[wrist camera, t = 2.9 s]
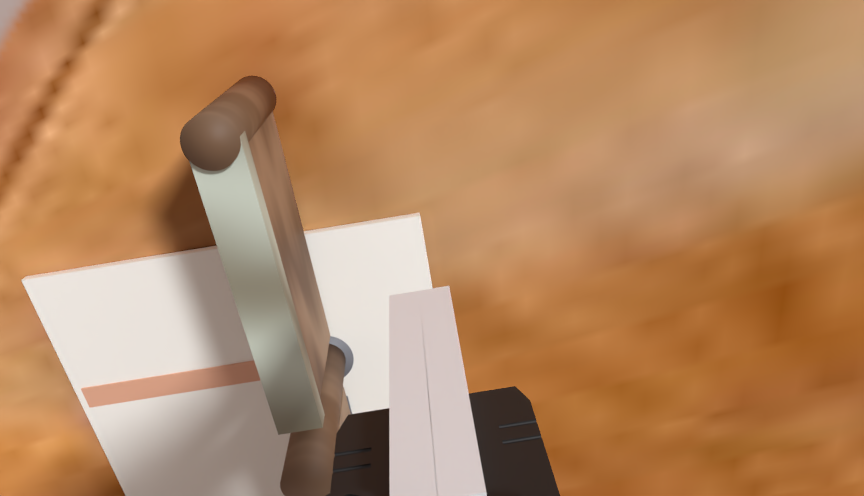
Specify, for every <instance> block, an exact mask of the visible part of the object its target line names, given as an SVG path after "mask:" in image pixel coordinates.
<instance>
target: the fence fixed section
mask: <svg viewBox="0 0 864 496" xmlns="http://www.w3.org/2000/svg"><path fill="white" fill-rule="evenodd" d="M345 363H346V358H345V355H344V353H343V351H342V350H341V349H340V348H338V347H337V346H335V345H332V344H329V347H328V353H327V360H326V366H325V372H324V378H323V385H322V391H321V397H320V400H321V403H322V407H323V410H324V414H325V416H324V423H323V428H318V429H312V430H306V431H299V432H293V433H290V438H289V443H288V448H287V452H286V457H285V462H284V467H283V471H282V476H281V481H280V488H281V491H282V493H283V494H284V496H326V495H327V494H329V493H330V489H331V480H332V474H333V461H334V457H335V454H334V452H335V443H336V434H337V432H338V430H339V429H340V427H341V425H342V424H343V422H344V421H345V419H346V417H347V416H348V415H349V414H351V413H350V409H349V405H348V401H347V398H346V394H345V390H344V387H343V381H344V372H345Z"/></svg>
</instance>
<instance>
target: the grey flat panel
mask: <svg viewBox="0 0 864 496" xmlns="http://www.w3.org/2000/svg"><path fill="white" fill-rule="evenodd" d="M275 105H276V94H275V91H274V89H273V87H272V86H271V85H270V84H269V83H268V82H267V81H266V80H265V79H263V78H261V77H257V76H247V77H244V78H242V79H240V80H239V81H238V82H237V83H235V84H234V85H233V86H232V87H230V88H229V89H228V90H227V91H225V92H224V93H223V94H222V95H220V96H219V97H218V98H217V99H215V100H214V101H213V102H212V103H211V104H209V105H208V106H207V107H206V108H204V109H203V110H202V111H201V112H199V113H198V114H197V115H196V116H194V117H193V118H192V119H191V120H189V121H188V122H187V123H186V124H185V126H184V127H183V129H182V131H181V135H180V144H181V148H182V151H183V153H184V155H185V156H186V158H187V159H188V160H189V162H190V165H191V168H192V171H193V174H194V177H195V180H196V183H197V186H198V189H199V192H200V195H201V198H202V202H203V205H204V208H205V211H206V214H207V217H208V220H209V223H210V226H211V229H212V232H213V235H214V238H215V241H216V245H217V248H218V251H219V254H220V257H221V260H222V263H223V266H224V269H225V272H226V275H227V278H228V281H229V285H230V288H231V291H232V294H233V297H234V300H235V303H236V306H237V309H238V312H239V315H240V318H241V321H242V324H243V328H244V331H245V334H246V337H247V340H248V343H249V346H250V349H251V352H252V355H253V358H254V361H255V364H256V367H257V371H258V374H259V377H260V380H261V383H262V386H263V389H264V392H265V395H266V398H267V401H268V404H269V407H270V410H271V414H272V417H273V420H274V423H275V426H276V429H277V432H278V435H280V434H287V433H293V432H299V431H306V430H312V429H318V428H323V423H324V416H325V414H324V410H323V407H322V403H321V400H320V397H321V391H322V385H323V378H324V372H325V366H326V360H327V353H328V347H329V341H330V332H329V328H328V324H327V320H326V316H325V312H324V308H323V305H322V301H321V297H320V293H319V289H318V285H317V281H316V277H315V274H314V270H313V266H312V262H311V258H310V254H309V250H308V246H307V243H306V239H305V235H304V231H303V227H302V223H301V219H300V215H299V212H298V208H297V204H296V200H295V196H294V192H293V188H292V184H291V181H290V177H289V173H288V169H287V165H286V161H285V157H284V153H283V150H282V146H281V142H280V138H279V134H278V130H277V126H276V122H275V119H274V115H273V110H274V108H275Z"/></svg>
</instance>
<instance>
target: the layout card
mask: <svg viewBox="0 0 864 496" xmlns="http://www.w3.org/2000/svg"><path fill="white" fill-rule="evenodd" d="M304 235H305V239H306V243H307V246H308V250H309V254H310V258H311V262H312V266H313V270H314V274H315V277H316V281H317V285H318V289H319V293H320V297H321V301H322V305H323V308H324V312H325V316H326V320H327V324H328V328H329V332H330V341H329V344H332V345H335V346H337V347H338V348H340V349H341V350H342V351H343V353H344V355H345V358H346V363H345V372H344V381H343V387H344V390H345V394H346V398H347V401H348V405H349V409H350V413H351V414H356V413H362V412H368V411H374V410H381V409H387V408H389V295H396V294H402V293H408V292H414V291H420V290H426V289H433V288H432V282H431V276H430V270H429V265H428V259H427V253H426V247H425V241H424V235H423V229H422V223H421V218H420V213H415V214H409V215H402V216H396V217H390V218H384V219H378V220H371V221H365V222H359V223H353V224H347V225H341V226H334V227H328V228H322V229H316V230H310V231H304ZM21 281H22V283H23V285H24V287H25V289H26V291H27V293H28V295H29V297H30V299H31V301H32V303H33V305H34V307H35V309H36V312H37V314H38V316H39V318H40V320H41V322H42V324H43V326H44V328H45V330H46V332H47V334H48V336H49V338H50V340H51V343H52V345H53V347H54V349H55V351H56V353H57V355H58V357H59V359H60V361H61V363H62V365H63V367H64V369H65V372H66V374H67V376H68V378H69V380H70V382H71V384H72V386H73V388H74V390H75V392H76V394H77V396H78V398H79V400H80V403H81V405H82V407H83V409H84V411H85V413H86V415H87V417H88V419H89V421H90V423H91V425H92V427H93V429H94V431H95V434H96V436H97V438H98V440H99V442H100V444H101V446H102V448H103V450H104V452H105V454H106V456H107V458H108V460H109V462H110V465H111V467H112V469H113V471H114V473H115V475H116V477H117V479H118V481H119V483H120V485H121V487H122V489H123V491H124V494H125V496H284V494H283V493H282V491H281V488H280V481H281V476H282V471H283V467H284V462H285V457H286V452H287V448H288V443H289V438H290V433H287V434H280V435H278V432H277V429H276V426H275V423H274V420H273V417H272V414H271V410H270V407H269V404H268V401H267V398H266V395H265V392H264V389H263V386H262V383H261V380H260V377H259V374H258V371H257V367H256V364H255V361H254V358H253V355H252V352H251V349H250V346H249V343H248V340H247V337H246V334H245V331H244V328H243V324H242V321H241V318H240V315H239V312H238V309H237V306H236V303H235V300H234V297H233V294H232V291H231V288H230V285H229V281H228V278H227V275H226V272H225V269H224V266H223V263H222V260H221V257H220V254H219V251H218V248H217V246H211V247H205V248H198V249H192V250H186V251H180V252H174V253H168V254H161V255H155V256H149V257H143V258H137V259H130V260H124V261H118V262H112V263H106V264H100V265H93V266H87V267H81V268H75V269H69V270H62V271H56V272H50V273H44V274H38V275H32V276H26V277H25V278H23V279H22V280H21Z"/></svg>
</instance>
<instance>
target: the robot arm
mask: <svg viewBox="0 0 864 496" xmlns="http://www.w3.org/2000/svg"><path fill="white" fill-rule="evenodd" d="M334 454H335V457H334V461H333V474H332V480H331V489H330V493H329V494H327V495H326V496H560V494H559V491H558V488H557V485H556V482H555V478H554V475H553V472H552V469H551V466H550V462H549V459H548V456H547V453H546V450H545V447H544V443H543V440H542V438H541V434H540V431H539V428H538V424H537V422H536V418H535V415H534V412H533V408H532V405H531V402H530V400H529V399H528V398H527V397H526V396H525V395H524V394H523V393H522V392H520V391H519V390H518V389H517V388H516V387H515V386H514V387H508V388H502V389H495V390H489V391H483V392H477V393H470V394H469V393H468V388H467V382H466V377H465V371H464V366H463V360H462V355H461V349H460V344H459V338H458V333H457V327H456V322H455V316H454V310H453V305H452V299H451V294H450V288H449V286H445V287H439V288H433V289H426V290H420V291H414V292H408V293H402V294H396V295H389V408H387V409H381V410H374V411H368V412H362V413H356V414H349V415H348V416H347V417H346V419H345V421H344V422H343V424H342V425H341V427H340V429H339V430H338V432H337V434H336V443H335V452H334Z"/></svg>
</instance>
